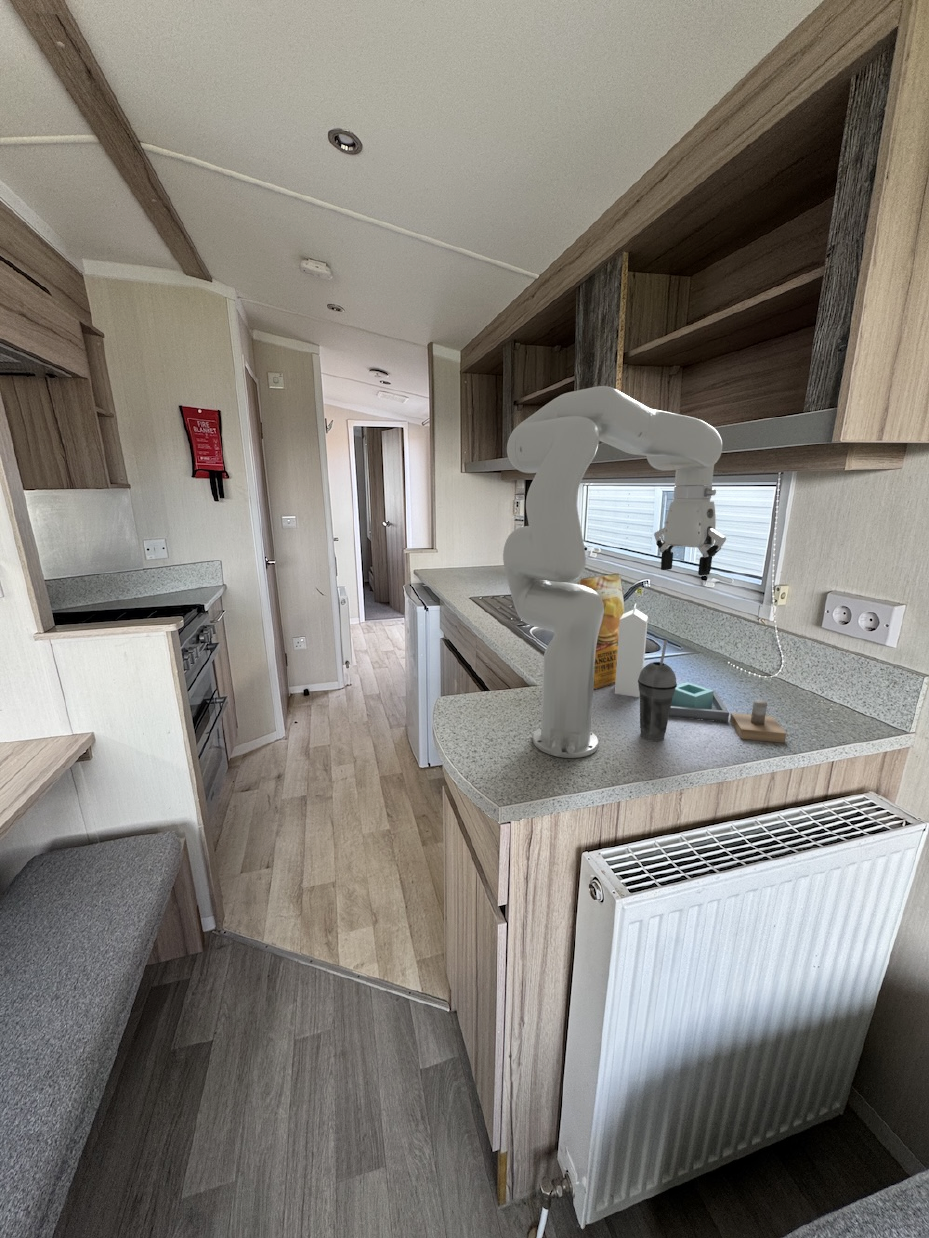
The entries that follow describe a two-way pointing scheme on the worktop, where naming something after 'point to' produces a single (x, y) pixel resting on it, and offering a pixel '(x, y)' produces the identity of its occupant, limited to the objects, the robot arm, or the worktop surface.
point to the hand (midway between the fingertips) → (684, 572)
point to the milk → (630, 652)
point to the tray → (702, 711)
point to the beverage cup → (656, 698)
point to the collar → (692, 696)
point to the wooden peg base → (758, 724)
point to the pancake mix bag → (607, 626)
